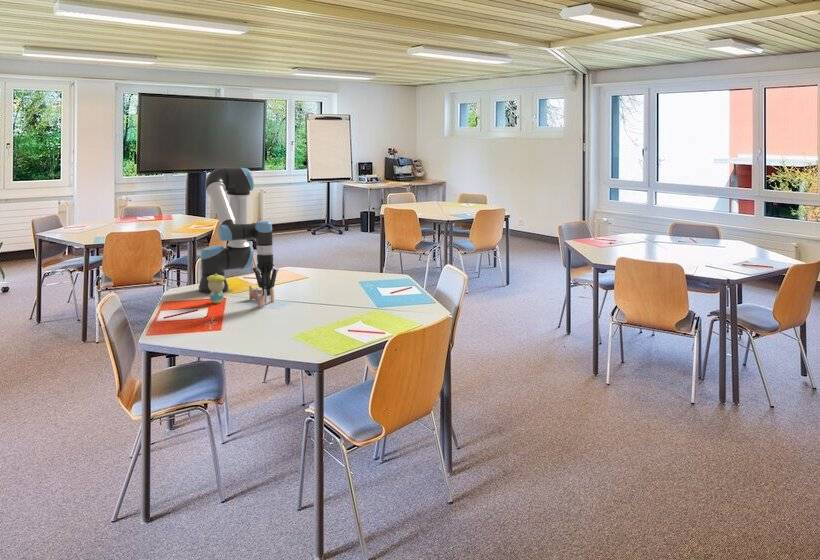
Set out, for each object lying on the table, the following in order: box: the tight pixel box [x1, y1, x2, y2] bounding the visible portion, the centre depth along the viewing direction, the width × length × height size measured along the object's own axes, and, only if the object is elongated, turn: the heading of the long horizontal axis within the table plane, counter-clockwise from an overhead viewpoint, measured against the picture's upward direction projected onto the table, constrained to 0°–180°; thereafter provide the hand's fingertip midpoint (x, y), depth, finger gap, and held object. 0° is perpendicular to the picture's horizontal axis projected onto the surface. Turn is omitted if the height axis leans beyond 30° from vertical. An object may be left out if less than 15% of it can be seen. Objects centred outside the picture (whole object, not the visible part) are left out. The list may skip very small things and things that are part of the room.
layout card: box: [242, 299, 293, 310], centre depth 327 cm, size 20×14×1 cm
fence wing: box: [257, 290, 271, 308], centre depth 323 cm, size 10×1×6 cm, turn 162°
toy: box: [207, 274, 226, 305], centre depth 325 cm, size 8×9×15 cm
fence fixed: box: [248, 285, 275, 303], centre depth 332 cm, size 14×2×8 cm, turn 70°
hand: (267, 302), depth 321 cm, fingers closed
